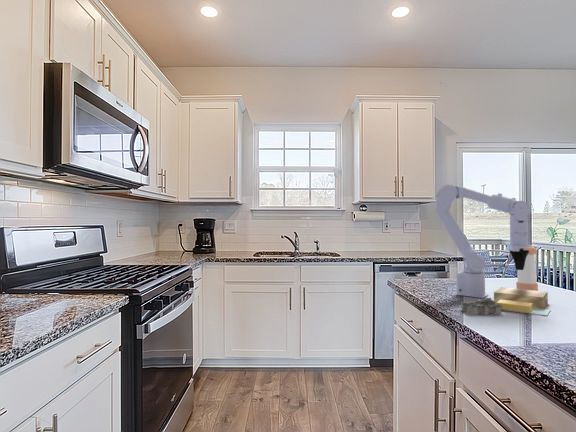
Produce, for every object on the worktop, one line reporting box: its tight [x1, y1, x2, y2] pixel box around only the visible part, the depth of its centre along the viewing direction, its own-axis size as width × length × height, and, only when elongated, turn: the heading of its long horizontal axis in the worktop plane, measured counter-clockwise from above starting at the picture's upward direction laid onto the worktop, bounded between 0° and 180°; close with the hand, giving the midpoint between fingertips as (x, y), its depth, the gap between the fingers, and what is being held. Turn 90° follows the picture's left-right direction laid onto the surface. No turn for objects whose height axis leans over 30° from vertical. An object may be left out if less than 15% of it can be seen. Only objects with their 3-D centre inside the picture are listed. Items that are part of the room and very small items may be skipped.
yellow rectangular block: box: [497, 299, 533, 314], centre depth 118 cm, size 9×6×2 cm, turn 49°
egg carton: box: [460, 297, 502, 315], centre depth 117 cm, size 11×8×4 cm
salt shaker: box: [516, 246, 539, 291], centre depth 149 cm, size 7×7×19 cm
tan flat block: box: [493, 287, 549, 309], centre depth 127 cm, size 14×12×4 cm
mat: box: [495, 303, 551, 317], centre depth 119 cm, size 18×8×1 cm, turn 49°
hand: (519, 269), depth 137 cm, fingers closed
